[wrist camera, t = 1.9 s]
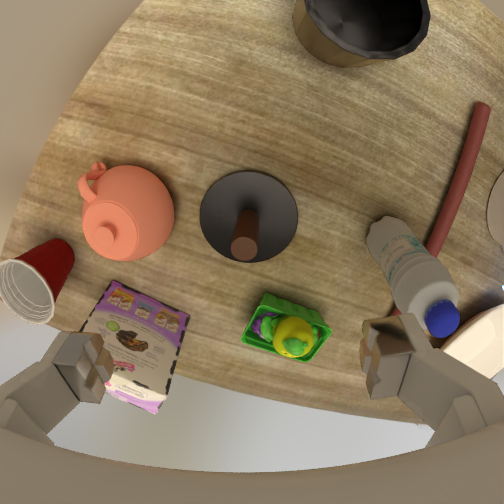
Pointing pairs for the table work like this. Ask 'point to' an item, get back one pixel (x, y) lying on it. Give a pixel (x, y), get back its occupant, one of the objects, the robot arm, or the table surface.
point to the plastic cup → (36, 280)
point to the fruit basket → (286, 329)
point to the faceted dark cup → (360, 29)
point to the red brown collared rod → (458, 181)
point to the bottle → (415, 276)
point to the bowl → (480, 342)
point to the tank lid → (248, 216)
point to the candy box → (138, 344)
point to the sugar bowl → (125, 211)
